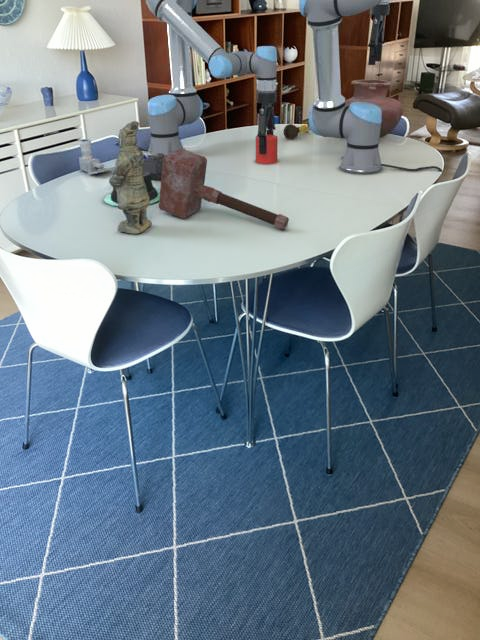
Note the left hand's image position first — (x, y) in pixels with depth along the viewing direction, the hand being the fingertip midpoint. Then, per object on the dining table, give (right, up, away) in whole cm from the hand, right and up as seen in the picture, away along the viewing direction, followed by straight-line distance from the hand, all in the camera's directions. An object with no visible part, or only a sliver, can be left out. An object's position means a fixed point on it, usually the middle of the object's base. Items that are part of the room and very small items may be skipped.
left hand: (266, 150), depth 222 cm
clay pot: (+47, +14, +31) cm, 58 cm away
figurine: (+18, +20, +42) cm, 50 cm away
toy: (-44, -15, -15) cm, 49 cm away
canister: (0, -4, +2) cm, 5 cm away
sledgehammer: (-15, -38, -56) cm, 69 cm away
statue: (-41, -42, -60) cm, 84 cm away
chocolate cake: (-46, -27, -35) cm, 64 cm away
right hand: (+45, +38, +6) cm, 59 cm away
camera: (-66, -11, -8) cm, 68 cm away
